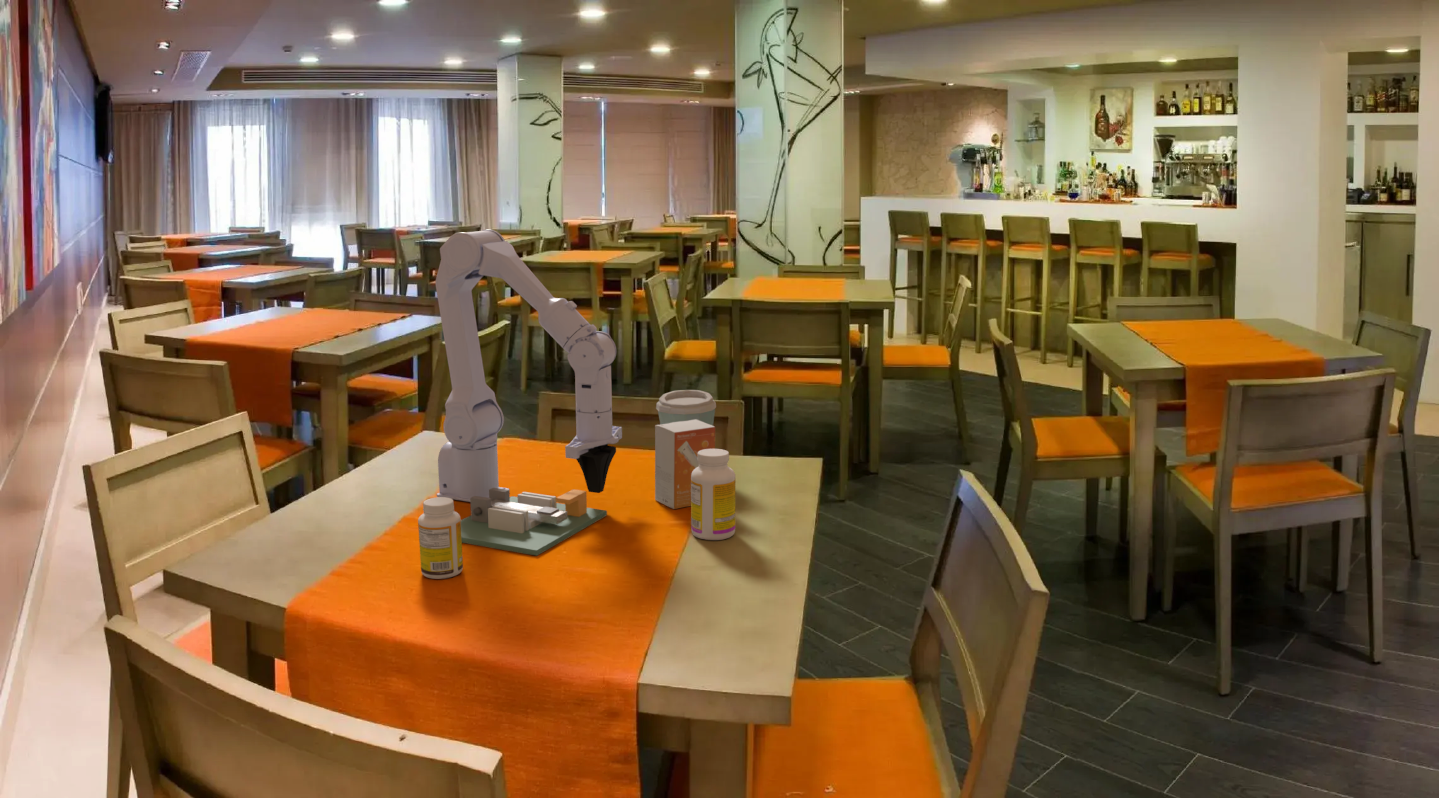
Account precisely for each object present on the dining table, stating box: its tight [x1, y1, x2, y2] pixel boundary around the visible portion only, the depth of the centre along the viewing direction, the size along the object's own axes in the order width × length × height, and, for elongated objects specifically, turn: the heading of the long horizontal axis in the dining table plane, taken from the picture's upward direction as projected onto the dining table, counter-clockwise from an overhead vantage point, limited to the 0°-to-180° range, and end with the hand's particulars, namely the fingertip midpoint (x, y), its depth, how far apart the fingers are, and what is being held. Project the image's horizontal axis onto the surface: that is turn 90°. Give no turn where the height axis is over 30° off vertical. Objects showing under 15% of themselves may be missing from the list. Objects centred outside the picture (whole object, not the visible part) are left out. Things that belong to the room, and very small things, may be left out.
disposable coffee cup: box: [655, 389, 717, 426], centre depth 192 cm, size 11×11×15 cm
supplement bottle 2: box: [690, 448, 736, 541], centre depth 162 cm, size 7×7×13 cm
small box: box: [654, 419, 716, 510], centre depth 178 cm, size 8×6×13 cm
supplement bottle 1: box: [417, 496, 464, 580], centre depth 146 cm, size 6×6×10 cm
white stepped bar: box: [491, 499, 567, 524], centre depth 166 cm, size 13×3×2 cm, turn 66°
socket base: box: [460, 488, 608, 557], centre depth 166 cm, size 18×20×4 cm
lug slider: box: [556, 488, 588, 517], centre depth 168 cm, size 2×5×4 cm, turn 156°
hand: (595, 491), depth 175 cm, fingers closed
